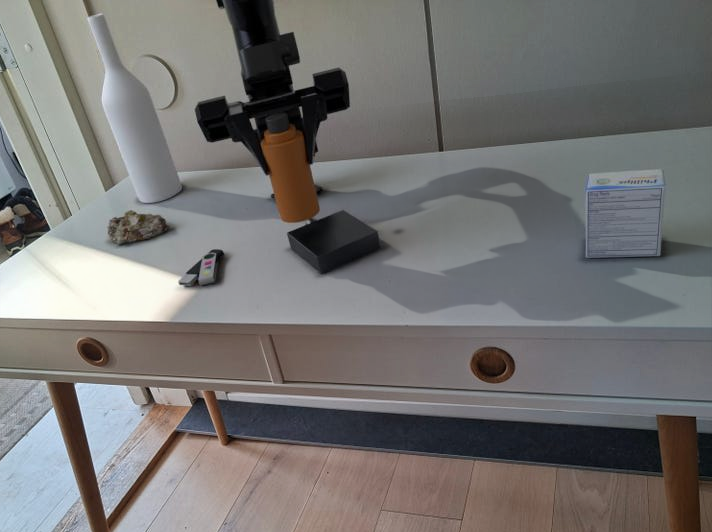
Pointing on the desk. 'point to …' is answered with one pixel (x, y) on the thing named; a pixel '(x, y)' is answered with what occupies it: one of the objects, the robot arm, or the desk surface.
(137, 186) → the bottle
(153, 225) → the mineral rock
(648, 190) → the medicine box
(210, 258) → the usb flash drive
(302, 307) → the desk surface
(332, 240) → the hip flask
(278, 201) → the amber bottle
